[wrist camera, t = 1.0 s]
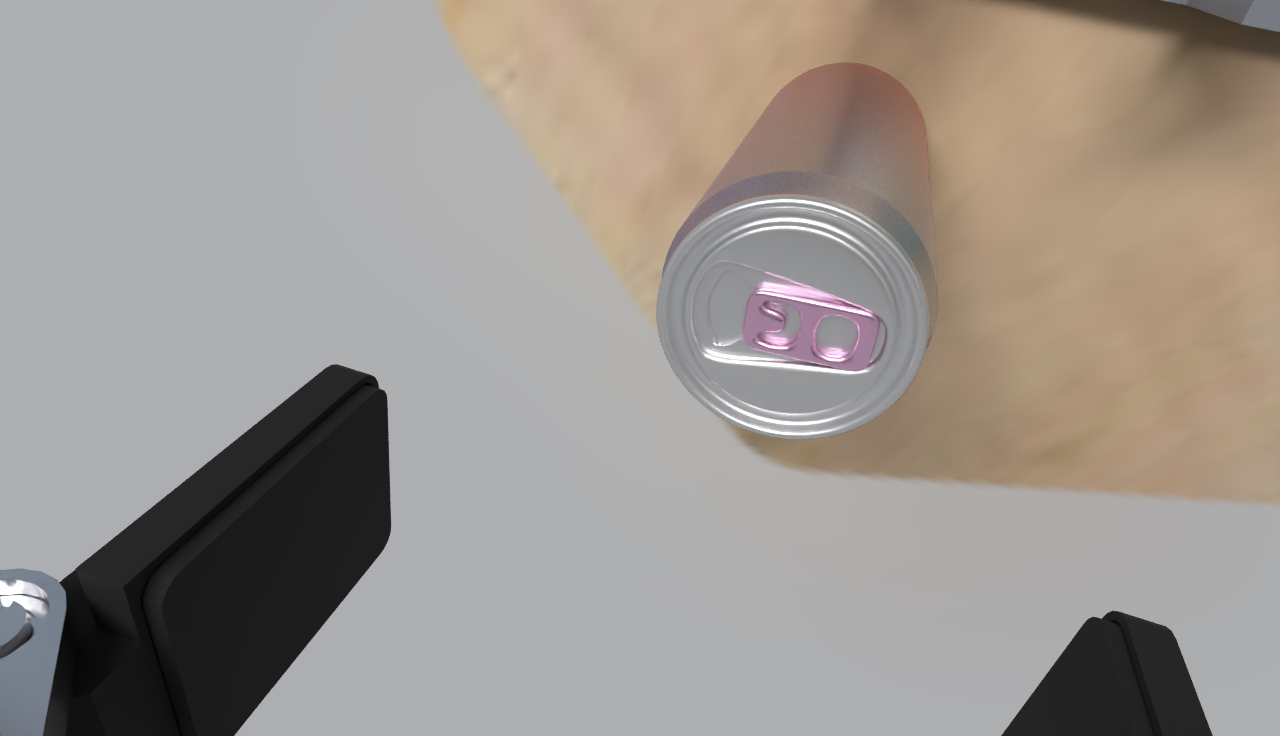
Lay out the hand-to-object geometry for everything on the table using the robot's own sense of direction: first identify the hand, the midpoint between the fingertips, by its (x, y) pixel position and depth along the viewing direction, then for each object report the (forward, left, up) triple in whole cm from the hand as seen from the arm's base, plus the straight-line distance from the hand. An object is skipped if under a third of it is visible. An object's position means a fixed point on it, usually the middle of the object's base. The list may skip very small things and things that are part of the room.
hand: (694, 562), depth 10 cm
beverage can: (0, 0, -22) cm, 22 cm away
